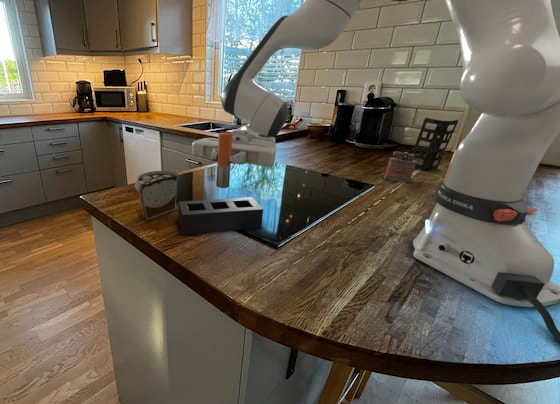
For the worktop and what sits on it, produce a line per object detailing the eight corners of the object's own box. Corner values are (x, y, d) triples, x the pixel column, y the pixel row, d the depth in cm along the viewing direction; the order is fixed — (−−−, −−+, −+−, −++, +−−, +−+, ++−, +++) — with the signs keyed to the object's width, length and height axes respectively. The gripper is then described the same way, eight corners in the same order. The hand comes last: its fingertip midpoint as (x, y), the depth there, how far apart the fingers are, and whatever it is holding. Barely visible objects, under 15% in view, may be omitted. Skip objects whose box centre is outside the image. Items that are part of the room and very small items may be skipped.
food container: (165, 201, 84) (164, 167, 80) (179, 207, 80) (179, 172, 76) (127, 213, 76) (124, 176, 72) (141, 221, 72) (139, 183, 68)
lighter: (410, 180, 106) (419, 153, 102) (410, 183, 103) (419, 155, 99) (384, 176, 110) (391, 149, 106) (383, 179, 107) (391, 151, 103)
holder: (432, 165, 124) (451, 116, 114) (443, 172, 118) (464, 121, 108) (404, 164, 125) (421, 116, 115) (413, 171, 119) (432, 121, 109)
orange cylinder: (230, 187, 67) (234, 134, 63) (217, 188, 67) (220, 135, 62) (227, 183, 70) (230, 132, 65) (214, 183, 70) (217, 132, 65)
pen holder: (261, 228, 71) (263, 209, 69) (182, 234, 67) (182, 214, 65) (250, 214, 77) (252, 197, 75) (178, 219, 74) (178, 201, 72)
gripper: (204, 130, 79) (180, 139, 68) (282, 138, 72) (270, 150, 60) (203, 153, 82) (180, 166, 70) (278, 163, 74) (266, 179, 63)
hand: (222, 158), depth 65 cm, fingers closed on orange cylinder, 3 cm apart
